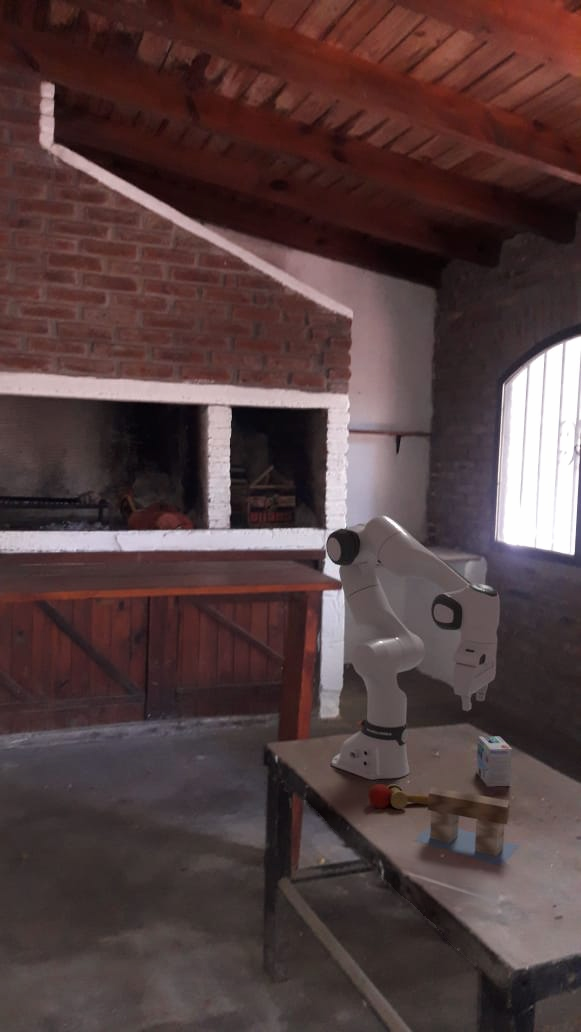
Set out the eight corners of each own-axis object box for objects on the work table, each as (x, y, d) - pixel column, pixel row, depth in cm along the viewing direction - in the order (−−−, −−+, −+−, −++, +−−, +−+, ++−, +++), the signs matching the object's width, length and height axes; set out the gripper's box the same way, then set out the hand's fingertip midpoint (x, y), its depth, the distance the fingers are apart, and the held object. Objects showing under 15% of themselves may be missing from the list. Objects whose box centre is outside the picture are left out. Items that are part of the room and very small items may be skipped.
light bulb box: (475, 772, 240) (477, 735, 239) (498, 772, 241) (500, 735, 240) (487, 787, 230) (489, 748, 229) (511, 787, 230) (513, 748, 229)
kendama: (428, 803, 221) (363, 796, 218) (434, 782, 219) (368, 774, 217) (437, 821, 213) (369, 814, 211) (442, 799, 212) (374, 792, 209)
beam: (427, 809, 195) (428, 793, 195) (431, 803, 199) (432, 787, 199) (506, 824, 189) (507, 807, 189) (508, 817, 193) (509, 800, 192)
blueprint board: (414, 842, 195) (414, 840, 195) (433, 824, 205) (434, 821, 205) (502, 868, 184) (502, 866, 184) (518, 847, 194) (518, 845, 194)
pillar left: (430, 837, 197) (431, 808, 196) (438, 829, 201) (439, 801, 200) (450, 843, 194) (451, 814, 193) (457, 835, 198) (459, 806, 198)
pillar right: (474, 850, 191) (476, 821, 190) (482, 842, 195) (483, 813, 194) (496, 856, 188) (497, 826, 188) (503, 848, 192) (504, 818, 192)
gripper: (480, 640, 215) (476, 692, 217) (450, 656, 198) (446, 712, 200) (504, 645, 212) (499, 697, 214) (475, 661, 195) (471, 718, 196)
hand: (473, 705), depth 206 cm, fingers open, 8 cm apart
